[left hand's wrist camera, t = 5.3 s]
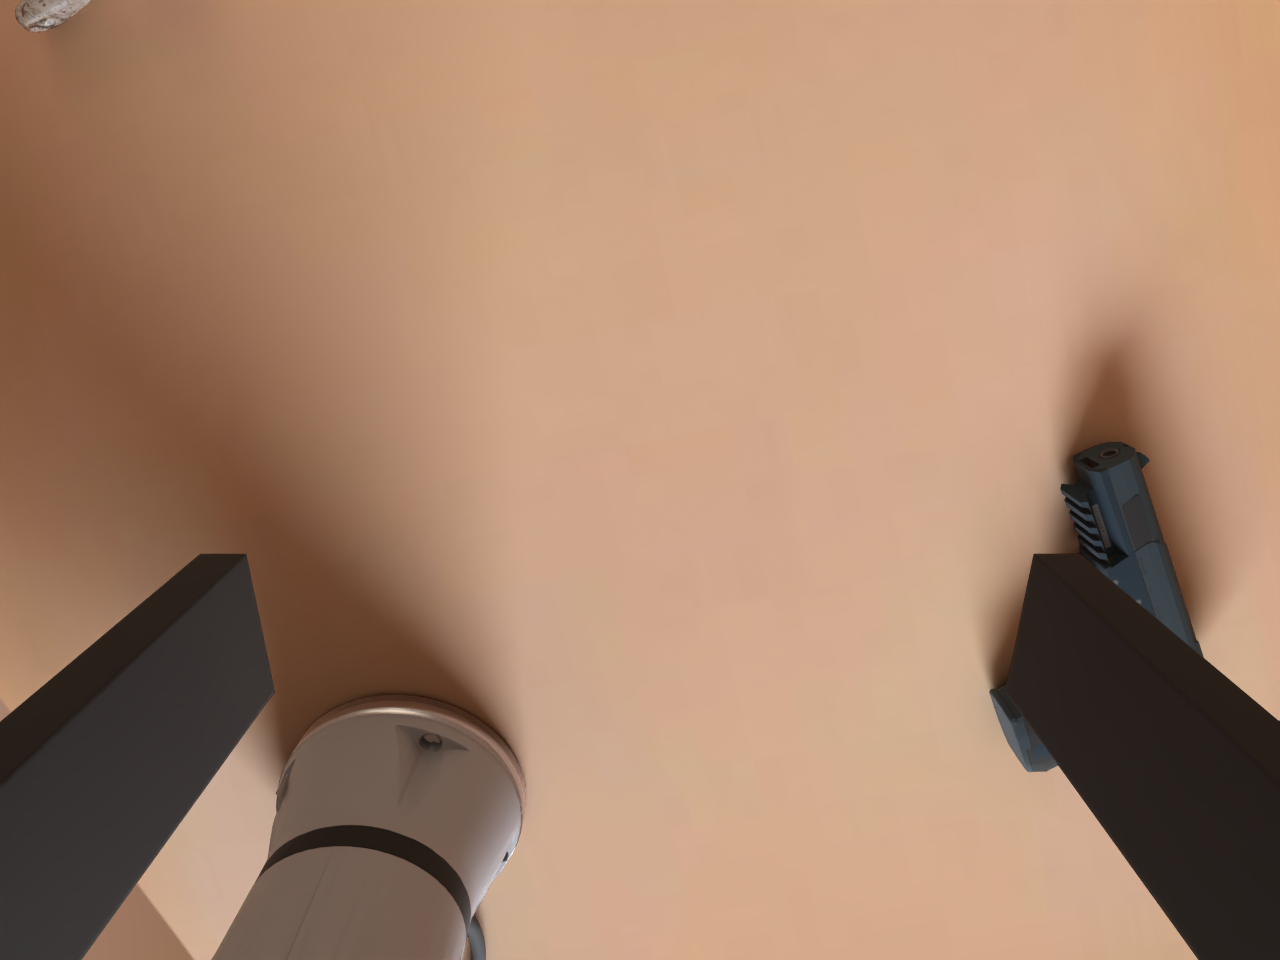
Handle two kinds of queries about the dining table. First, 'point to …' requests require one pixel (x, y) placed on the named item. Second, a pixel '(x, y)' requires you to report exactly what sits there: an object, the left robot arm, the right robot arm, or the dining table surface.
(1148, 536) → the handgun
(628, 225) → the dining table surface
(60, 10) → the putty knife
